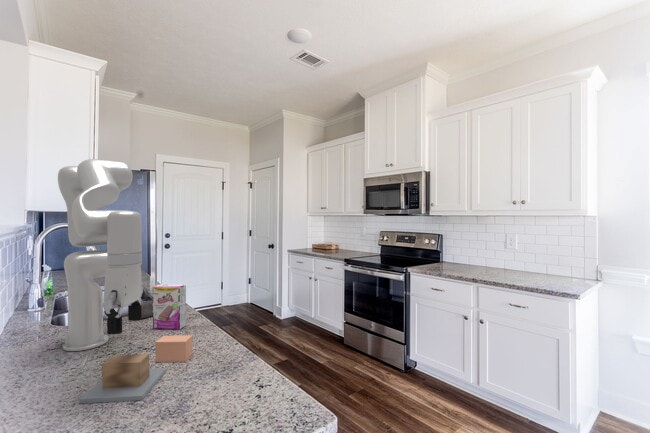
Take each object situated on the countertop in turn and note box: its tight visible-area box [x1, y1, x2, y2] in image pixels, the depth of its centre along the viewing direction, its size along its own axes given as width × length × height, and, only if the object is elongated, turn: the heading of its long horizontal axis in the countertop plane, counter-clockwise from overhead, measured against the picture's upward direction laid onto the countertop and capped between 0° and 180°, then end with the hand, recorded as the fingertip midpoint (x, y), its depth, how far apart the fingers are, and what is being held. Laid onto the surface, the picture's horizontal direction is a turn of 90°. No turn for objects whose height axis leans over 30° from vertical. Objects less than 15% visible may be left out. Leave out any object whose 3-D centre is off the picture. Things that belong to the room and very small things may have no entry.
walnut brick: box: [101, 353, 150, 388], centre depth 84 cm, size 9×5×6 cm, turn 95°
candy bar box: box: [152, 283, 187, 331], centre depth 127 cm, size 11×5×16 cm, turn 84°
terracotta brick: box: [154, 334, 194, 363], centre depth 100 cm, size 9×5×6 cm, turn 91°
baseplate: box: [78, 367, 167, 404], centre depth 84 cm, size 14×14×1 cm
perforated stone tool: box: [141, 299, 153, 319], centre depth 142 cm, size 15×5×7 cm, turn 141°
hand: (125, 326), depth 84 cm, fingers open, 9 cm apart
